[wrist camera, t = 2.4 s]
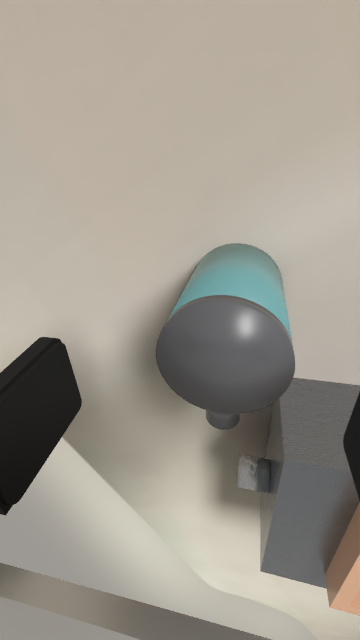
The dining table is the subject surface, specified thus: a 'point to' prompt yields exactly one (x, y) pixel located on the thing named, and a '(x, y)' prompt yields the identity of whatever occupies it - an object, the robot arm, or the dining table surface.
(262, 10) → the dining table surface
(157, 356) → the cylinder
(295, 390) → the grey box
